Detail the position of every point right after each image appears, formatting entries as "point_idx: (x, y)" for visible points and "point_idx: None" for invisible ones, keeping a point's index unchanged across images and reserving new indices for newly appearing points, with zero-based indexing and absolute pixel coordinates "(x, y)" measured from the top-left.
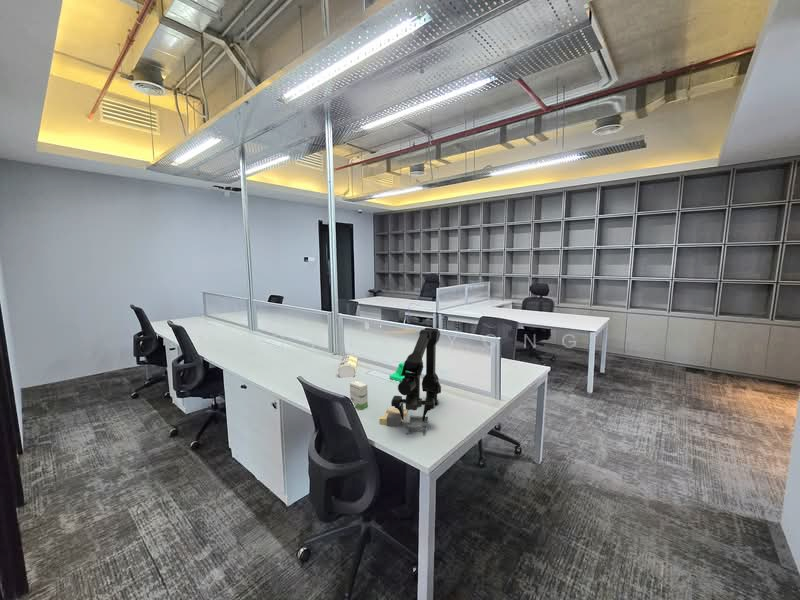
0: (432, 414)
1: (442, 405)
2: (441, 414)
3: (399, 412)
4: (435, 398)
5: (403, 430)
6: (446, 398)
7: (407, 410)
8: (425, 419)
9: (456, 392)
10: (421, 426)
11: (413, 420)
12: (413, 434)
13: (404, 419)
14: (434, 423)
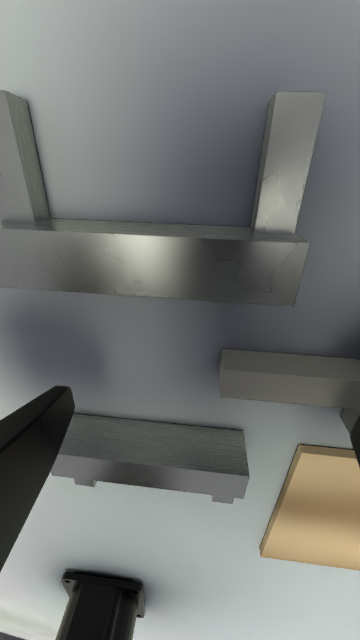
0: (65, 505)
1: (38, 568)
2: None
3: (338, 536)
4: (60, 637)
5: (349, 228)
6: (41, 603)
7: (262, 550)
8: (73, 442)
9: (15, 623)
10: (52, 264)
11: (206, 436)
12: (187, 110)
13: (304, 452)
14: (3, 403)
